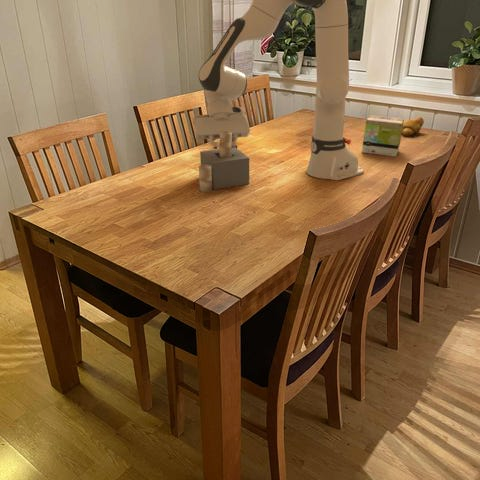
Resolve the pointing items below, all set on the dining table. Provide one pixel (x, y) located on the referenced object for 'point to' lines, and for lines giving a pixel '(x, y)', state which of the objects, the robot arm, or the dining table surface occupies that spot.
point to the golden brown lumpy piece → (412, 126)
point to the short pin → (205, 178)
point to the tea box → (382, 135)
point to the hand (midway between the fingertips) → (224, 147)
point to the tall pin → (225, 144)
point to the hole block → (227, 168)
